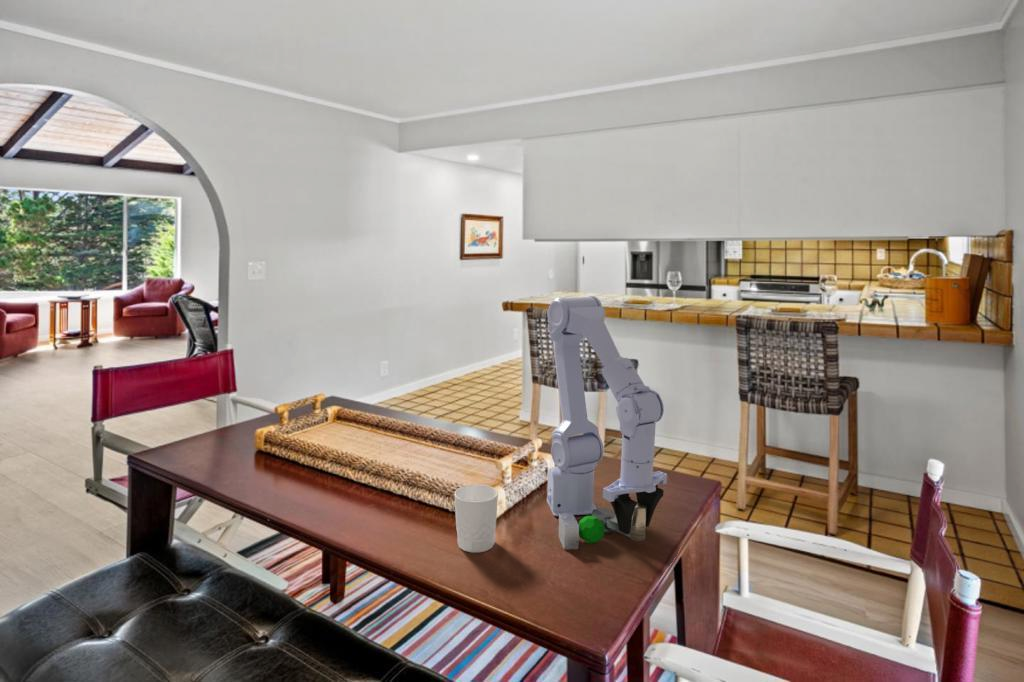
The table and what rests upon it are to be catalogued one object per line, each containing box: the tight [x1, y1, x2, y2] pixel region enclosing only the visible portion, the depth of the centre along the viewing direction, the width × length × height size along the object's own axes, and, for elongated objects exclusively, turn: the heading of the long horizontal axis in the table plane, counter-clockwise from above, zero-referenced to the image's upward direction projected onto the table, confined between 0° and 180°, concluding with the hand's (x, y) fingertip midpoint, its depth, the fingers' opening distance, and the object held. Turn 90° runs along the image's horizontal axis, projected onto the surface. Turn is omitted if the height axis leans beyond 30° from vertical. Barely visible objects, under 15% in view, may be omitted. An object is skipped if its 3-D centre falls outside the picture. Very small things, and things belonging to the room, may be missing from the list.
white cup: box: [453, 483, 499, 553], centre depth 112 cm, size 8×8×10 cm
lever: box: [591, 503, 647, 542], centre depth 116 cm, size 12×4×6 cm, turn 43°
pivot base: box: [604, 528, 616, 535], centre depth 119 cm, size 5×5×1 cm
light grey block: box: [557, 513, 580, 550], centre depth 113 cm, size 3×5×4 cm, turn 8°
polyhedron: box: [578, 515, 605, 544], centre depth 114 cm, size 5×5×5 cm
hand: (633, 528), depth 112 cm, fingers open, 4 cm apart
